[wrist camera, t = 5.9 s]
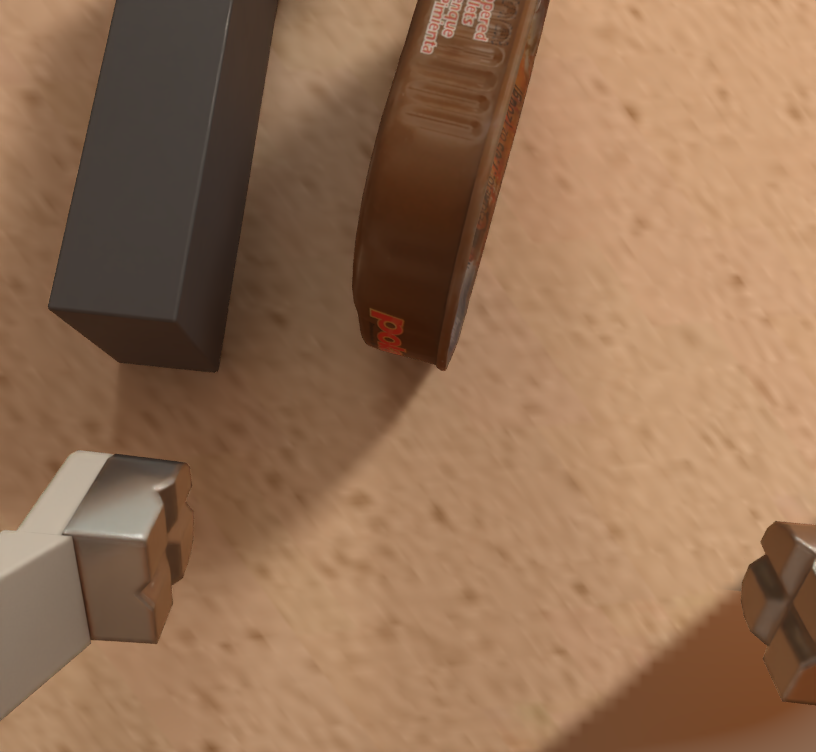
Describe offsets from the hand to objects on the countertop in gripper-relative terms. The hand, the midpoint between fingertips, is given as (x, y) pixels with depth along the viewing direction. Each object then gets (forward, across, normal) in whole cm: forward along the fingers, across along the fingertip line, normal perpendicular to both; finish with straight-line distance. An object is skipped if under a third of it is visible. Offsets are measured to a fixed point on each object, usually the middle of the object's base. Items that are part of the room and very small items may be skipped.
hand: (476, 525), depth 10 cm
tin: (+16, 0, 0) cm, 16 cm away
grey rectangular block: (+16, +8, 0) cm, 18 cm away
